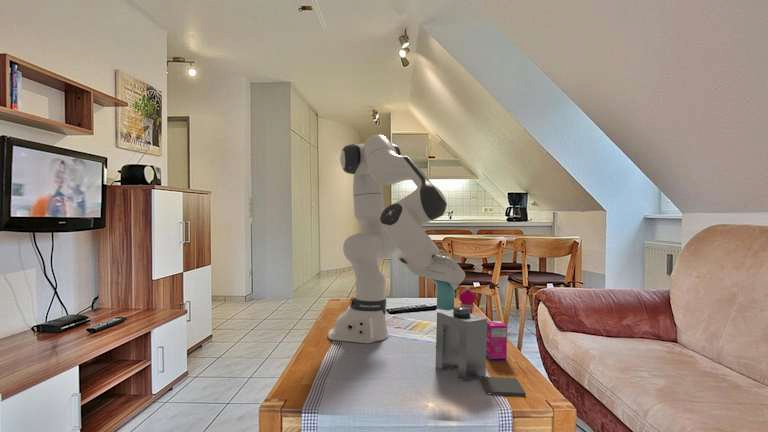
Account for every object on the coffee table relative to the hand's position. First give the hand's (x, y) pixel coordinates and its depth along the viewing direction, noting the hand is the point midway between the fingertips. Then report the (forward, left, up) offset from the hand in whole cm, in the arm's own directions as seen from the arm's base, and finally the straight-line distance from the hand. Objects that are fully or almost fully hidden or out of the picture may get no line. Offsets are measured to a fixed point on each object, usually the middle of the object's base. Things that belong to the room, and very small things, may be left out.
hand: (447, 285), depth 127 cm
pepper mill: (+11, +36, -27) cm, 46 cm away
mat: (+15, -6, -26) cm, 31 cm away
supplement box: (+18, +18, -27) cm, 37 cm away
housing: (+5, +4, -26) cm, 27 cm away
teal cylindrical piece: (-1, 0, -6) cm, 6 cm away
